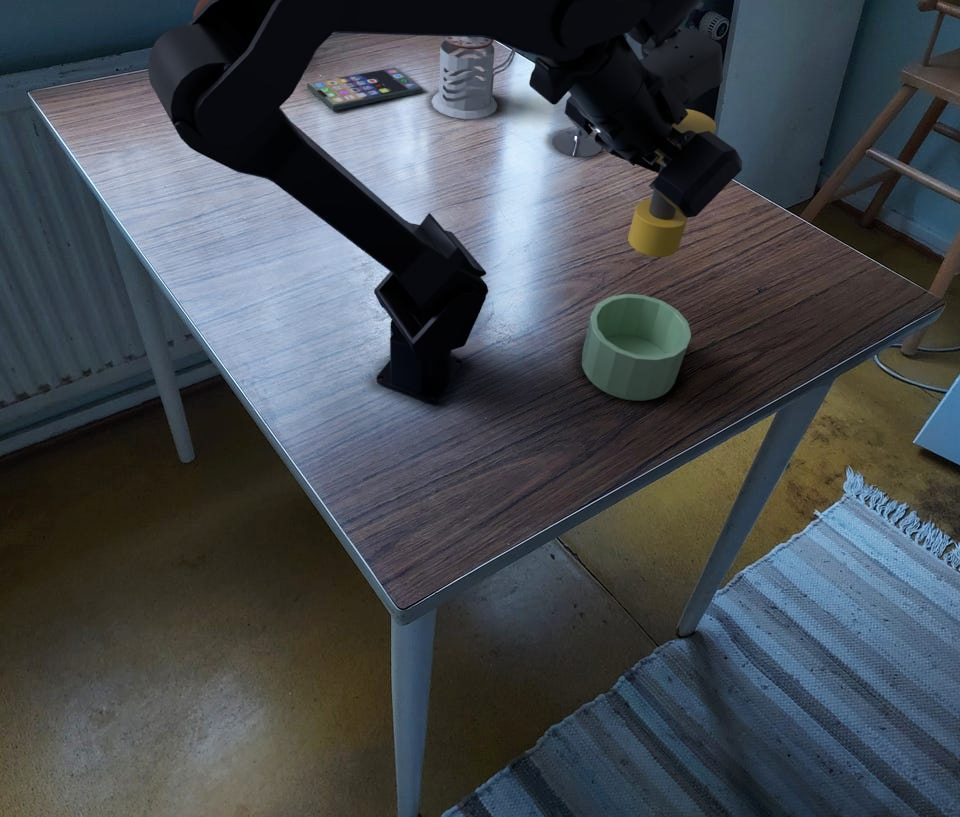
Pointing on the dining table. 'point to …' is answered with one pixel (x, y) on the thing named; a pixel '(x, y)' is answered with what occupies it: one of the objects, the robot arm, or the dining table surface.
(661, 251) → the dumbbell
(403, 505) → the dining table surface
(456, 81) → the french press
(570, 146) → the wine glass
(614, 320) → the pot
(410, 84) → the smartphone
